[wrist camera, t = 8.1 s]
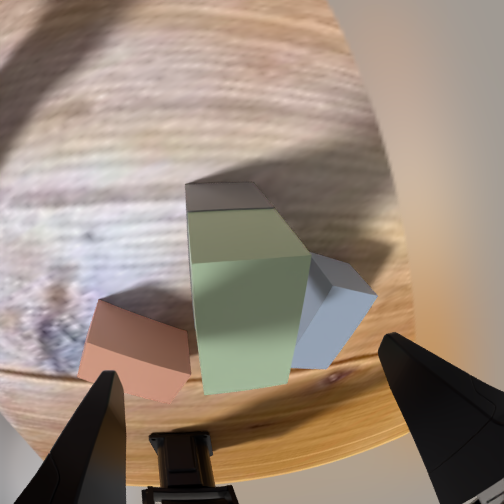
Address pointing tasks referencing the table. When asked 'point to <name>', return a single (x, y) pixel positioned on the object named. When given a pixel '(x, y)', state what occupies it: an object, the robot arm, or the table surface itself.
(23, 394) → the table surface
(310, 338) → the slate blue brick
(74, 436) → the robot arm
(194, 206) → the charcoal brick
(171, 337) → the terracotta brick
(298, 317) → the green brick
